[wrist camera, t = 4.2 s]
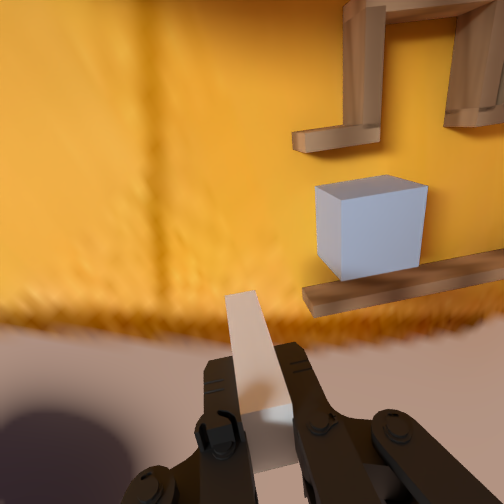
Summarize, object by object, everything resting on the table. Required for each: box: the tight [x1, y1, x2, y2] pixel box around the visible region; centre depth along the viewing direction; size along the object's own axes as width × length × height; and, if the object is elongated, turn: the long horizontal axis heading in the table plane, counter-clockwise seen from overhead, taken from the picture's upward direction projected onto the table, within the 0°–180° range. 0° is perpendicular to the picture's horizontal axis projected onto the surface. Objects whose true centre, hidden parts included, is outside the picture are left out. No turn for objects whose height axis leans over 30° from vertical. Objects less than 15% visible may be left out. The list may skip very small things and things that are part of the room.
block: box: [315, 175, 428, 281], centre depth 23 cm, size 6×6×5 cm
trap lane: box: [292, 0, 504, 318], centre depth 23 cm, size 28×21×4 cm
